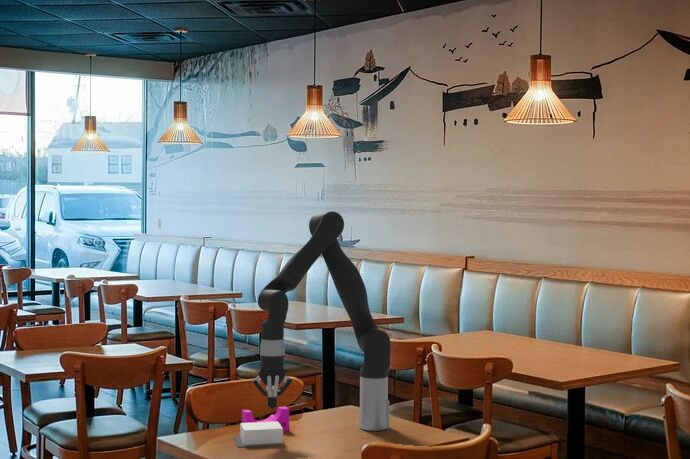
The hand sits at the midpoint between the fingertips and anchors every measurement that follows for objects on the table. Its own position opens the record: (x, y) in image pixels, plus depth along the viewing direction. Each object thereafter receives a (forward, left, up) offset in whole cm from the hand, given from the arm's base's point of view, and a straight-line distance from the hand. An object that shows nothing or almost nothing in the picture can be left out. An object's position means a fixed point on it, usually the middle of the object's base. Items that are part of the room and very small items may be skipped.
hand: (271, 408), depth 283 cm
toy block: (0, -14, -11) cm, 17 cm away
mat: (+4, 0, -10) cm, 11 cm away
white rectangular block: (-3, 0, -8) cm, 8 cm away
